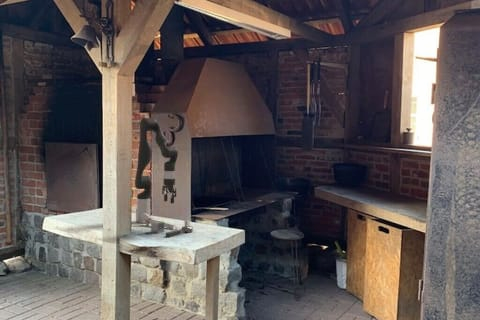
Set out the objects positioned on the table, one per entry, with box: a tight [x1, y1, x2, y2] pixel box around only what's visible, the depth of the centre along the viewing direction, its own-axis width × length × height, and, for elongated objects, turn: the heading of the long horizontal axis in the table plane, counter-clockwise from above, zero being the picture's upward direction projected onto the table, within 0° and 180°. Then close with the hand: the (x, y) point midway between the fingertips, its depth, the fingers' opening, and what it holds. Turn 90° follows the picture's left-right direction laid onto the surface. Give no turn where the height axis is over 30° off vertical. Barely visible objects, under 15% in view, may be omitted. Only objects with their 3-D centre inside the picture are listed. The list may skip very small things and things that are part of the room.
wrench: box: [141, 213, 178, 231], centre depth 303 cm, size 8×2×30 cm
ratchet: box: [165, 219, 194, 238], centre depth 285 cm, size 7×22×8 cm, turn 146°
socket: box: [150, 220, 165, 234], centre depth 288 cm, size 6×6×6 cm
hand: (168, 202), depth 289 cm, fingers open, 8 cm apart
